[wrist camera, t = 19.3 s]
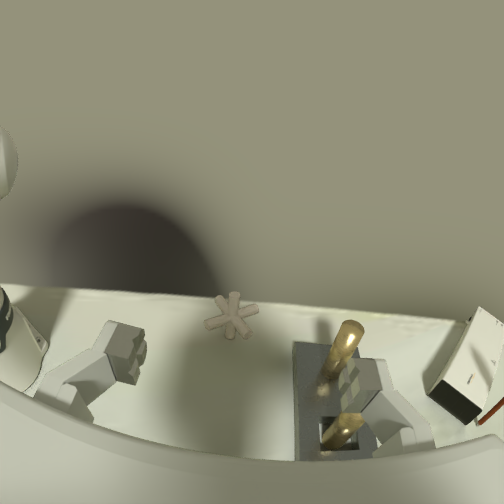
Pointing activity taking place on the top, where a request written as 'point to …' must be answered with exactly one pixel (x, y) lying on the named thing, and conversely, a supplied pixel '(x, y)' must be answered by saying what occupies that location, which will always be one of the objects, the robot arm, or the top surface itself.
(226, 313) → the pipe connector
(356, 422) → the brass pin
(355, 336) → the bolt plate
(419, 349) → the top surface
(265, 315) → the top surface
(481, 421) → the magnifying glass
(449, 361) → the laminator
